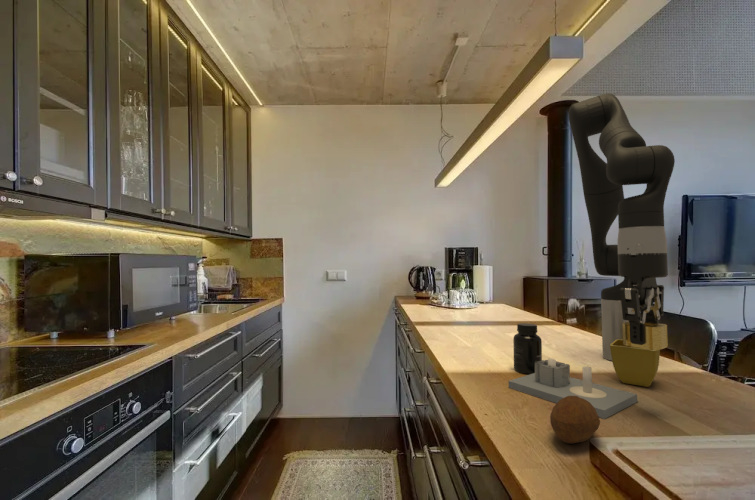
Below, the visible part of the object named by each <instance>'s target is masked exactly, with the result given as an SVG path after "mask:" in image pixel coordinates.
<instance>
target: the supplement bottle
mask: <svg viewBox="0 0 755 500" xmlns="http://www.w3.org/2000/svg"><path fill="white" fill-rule="evenodd" d="M516 331H517V333H516V334H514V336H513V340H512V341H513V369H514V371H516V372H518V373H520V374H526V375H530V374H533V373H535V363H537V362H538V361H542V360H543V353H542V352H543V351H542V350H543V347H542V346H543V345H542V338H541V337H540V336H539V335H538V325H537V324H534V323H527V322H526V323H525V322H523V323H522V322H521V323H517V324H516Z"/></svg>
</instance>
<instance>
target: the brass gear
mask: <svg viewBox="0 0 755 500" xmlns="http://www.w3.org/2000/svg"><path fill="white" fill-rule="evenodd" d="M644 324H645V344H643V345H638V344H633V343H631V342H630V323H629V322H625V323H623V344H624V345H626V346H631V347H637V348H644V349H652V350H659V349H660V350H663V349H666V348H667V347H669V346H668V345H669V344H668V325H667V324H666V323H659V322H658V323H651V322H645V323H644Z"/></svg>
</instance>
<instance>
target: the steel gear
mask: <svg viewBox="0 0 755 500" xmlns="http://www.w3.org/2000/svg"><path fill="white" fill-rule="evenodd" d="M570 366H571V365H570V364H568V363H565V362H561V361H557V360H556V366H549V365H548V359H542V361H538V362H537V363H535V381H536V382H539V383H541V384H544V385H548V386H554V387H556V388H560V387H563V386H566V385H568V384H570V377H571V370H570V369H571V367H570Z"/></svg>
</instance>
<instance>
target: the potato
mask: <svg viewBox="0 0 755 500" xmlns="http://www.w3.org/2000/svg"><path fill="white" fill-rule="evenodd" d="M549 417H550V418H549V419H550V420H549V421H550V427H551V429H552V430H553V432H554V434H555V435H556V436H557V438H558V439H559V440H560V441H561V442H563V443H565V444H571V445H573V444H576V443H583V442H585V441H587V440H589V439H590V438H591V437H592V436H593V435H594V434H595V433H596V432H597V430H598V429H599V427H600V424H601V421H600V417H598V414H597V412H596V409H595V408H594V407H593V406H592V404H591V403H590V402H588V401H587V400H585V399H583V398H580V397H578V396H567V397H565V398H563V399H561V400H559V402H558V403H555V405H554V406H553V407H552V410H551V412H550V416H549Z"/></svg>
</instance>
